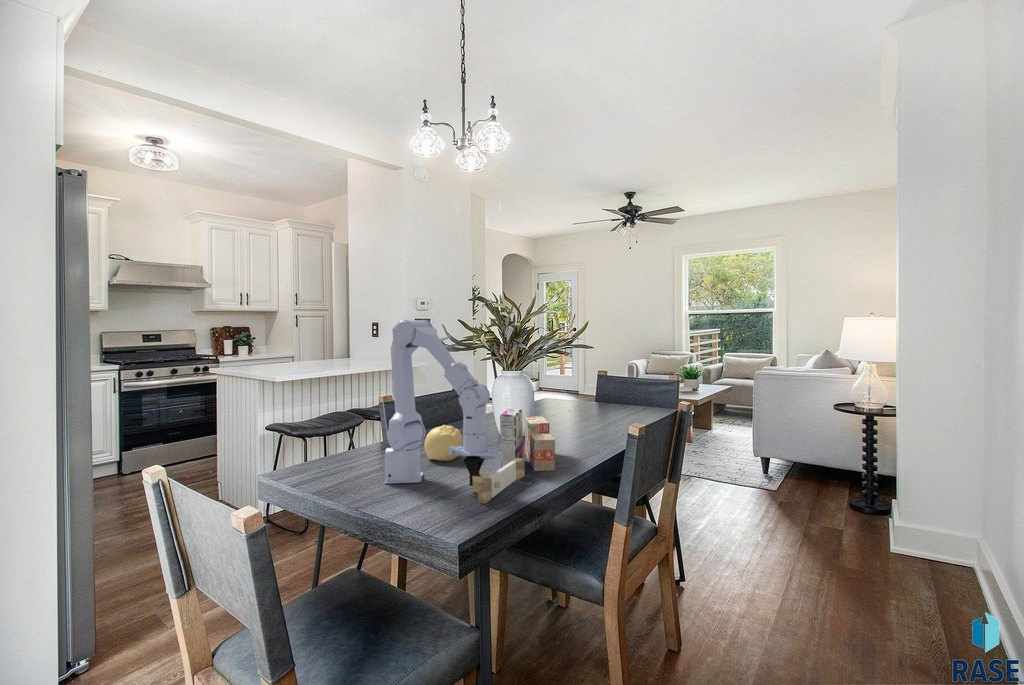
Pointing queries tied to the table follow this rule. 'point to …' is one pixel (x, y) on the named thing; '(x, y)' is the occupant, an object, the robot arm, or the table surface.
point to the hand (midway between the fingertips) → (474, 485)
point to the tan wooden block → (477, 478)
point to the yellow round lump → (442, 442)
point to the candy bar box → (511, 435)
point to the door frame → (485, 484)
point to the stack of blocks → (539, 444)
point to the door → (502, 478)
